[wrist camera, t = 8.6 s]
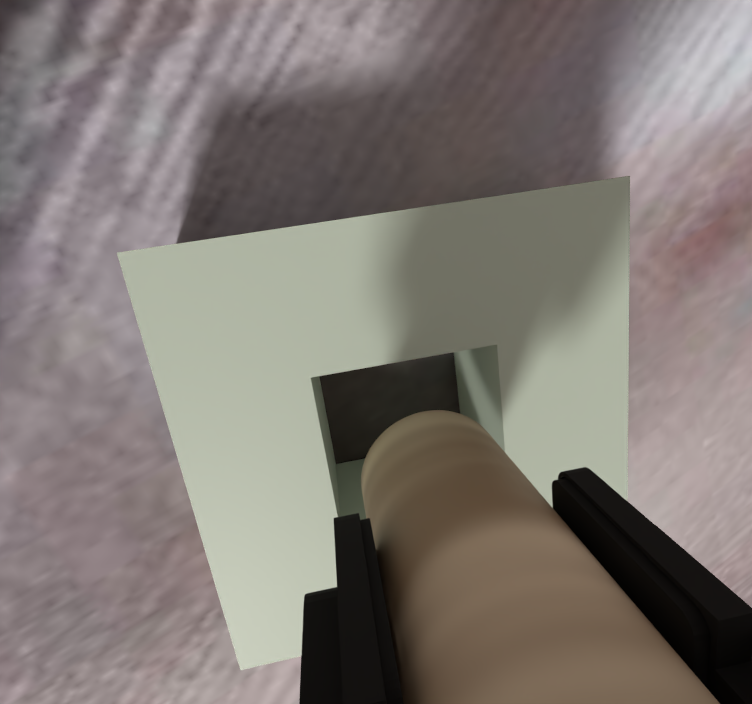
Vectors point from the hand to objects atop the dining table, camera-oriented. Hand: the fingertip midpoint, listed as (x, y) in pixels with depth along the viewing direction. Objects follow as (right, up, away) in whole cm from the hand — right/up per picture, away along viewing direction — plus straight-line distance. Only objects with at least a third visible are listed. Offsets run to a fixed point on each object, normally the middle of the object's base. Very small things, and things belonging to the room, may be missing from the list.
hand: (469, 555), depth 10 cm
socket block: (-1, +3, +9) cm, 10 cm away
